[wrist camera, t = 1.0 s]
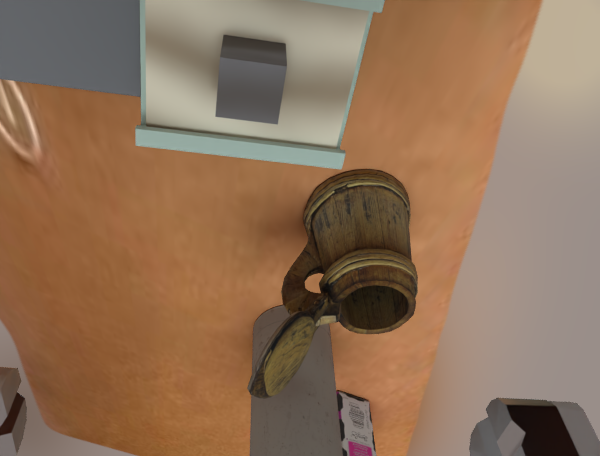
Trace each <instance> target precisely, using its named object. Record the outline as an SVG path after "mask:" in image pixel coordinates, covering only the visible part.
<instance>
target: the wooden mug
mask: <svg viewBox="0 0 600 456" xmlns="http://www.w3.org/2000/svg"><path fill="white" fill-rule="evenodd" d="M303 221H304V226H305V229H306V232H307V235H308V243H307V245H306V247H305V248H304V250H303V251H302V253H301V254H300V255H299V257H298V258H297V259H296V261H295V262H294V263H293V265H292V266H291V268H290V270H289V271H288V273H287V275H286V276H285V278H284V282H283V286H282V291H281V293H282V300H283V304H284V306H285V308H286V310H287V311H288V313H289V315H290V316H289V317H288V318H287V319H286V320H285V321H284V322H283V323H282V324H281V325H280V326H279V327H278V328H277V330H276V331H275V332H274V334H273V335H272V336H271V338H270V339H269V341H268V342H267V344H266V346H265V347H264V349H263V351H262V353H261V355H260V356H259V358H258V361H257V363H256V365H255V367H254V370H253V373H252V376H251V379H250V382H249V385H248V390H249V392H250V394H251V395H252V396H255V397H257V398H263V399H265V398H270V397H272V396H274V395H277V394H279V393H280V392H281V391H282V390H283V389H284V388H285V387H286V386H287V384H288V383H289V382H290V380H291V379H292V378H293V376H294V375H295V374H296V372H297V371H298V369H299V368H300V366H301V364H302V362H303V360H304V358H305V356H306V354H307V352H308V350H309V347H310V345H311V342H312V339H313V336H314V333H315V331H316V330H317V329H318V327H319V326H320V325H323V324H329V323H334V322H338V321H339V322H340V323H341V325H342V326H343V327H345V328H346V329H348V330H349V331H352V332H355V333H360V334H380V333H385V332H390V331H392V330H394V329H396V328H398V327H400V326H401V325H403V324H404V323H405V322H407V321H408V320H409V319H410V318H411V317H412V316H413V314H414V311H415V305H416V300H415V297H416V295H417V293H418V290H417V278H418V277H417V272H416V268H415V265H414V264H413V263H412V260H411V247H410V235H409V225H410V203H409V198H408V194H407V192H406V190H405V189H404V187H403V185H402V184H401V183H400V182H399V181H397V180H396V179H395V178H394V177H393V176H391V175H388V174H386V173H384V172H382V171H376V170H369V169H366V170H353V171H350V172H346V173H342V174H340V175H337V176H335V177H332V178H330V179H328V180H327V181H325V182H324V183H323V184H321V185H320V186H319V187H318V188H316V190H315V191H314V193H313V194H312V196H311V197H310V199H309V201H308V203H307V206H306V209H305V212H304V217H303ZM317 273H322V274H324V275H323V277H322V279H321V281H320V282H319V287H320V291H321V293H313V292H310V291H308V290H307V289H306V288H305V283H304V282H305V280H306V279H307V278H308V277H309V276H311V275H313V274H317Z"/></svg>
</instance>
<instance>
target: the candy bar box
mask: <svg viewBox="0 0 600 456" xmlns="http://www.w3.org/2000/svg"><path fill="white" fill-rule="evenodd" d="M336 394H337V404H338V413H339V423H340V433H341V443H342V452H343V456H376V451H375V442H374V435H373V427H372V420H371V412H370V404H369V401H367V400H364V399H361V398H358V397H355V396H352V395H350V394H347V393H344V392H340V391H337V392H336Z"/></svg>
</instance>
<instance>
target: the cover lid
mask: <svg viewBox="0 0 600 456" xmlns="http://www.w3.org/2000/svg"><path fill="white" fill-rule="evenodd" d="M368 14H369V11H366V10H359V9H353V8H347V7H340V6H334V5H327V4H321V3H314V2H308V1H302V0H145V34H146V126H147V127H155V128H163V129H171V130H180V131H188V132H196V133H205V134H213V135H221V136H229V137H238V138H246V139H254V140H263V141H271V142H279V143H288V144H296V145H304V146H312V147H321V148H329V149H336V147H337V143H338V138H339V134H340V130H341V126H342V122H343V118H344V114H345V109H346V105H347V101H348V97H349V93H350V89H351V85H352V81H353V76H354V72H355V68H356V64H357V60H358V56H359V52H360V47H361V43H362V39H363V35H364V31H365V27H366V23H367V19H368Z"/></svg>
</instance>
